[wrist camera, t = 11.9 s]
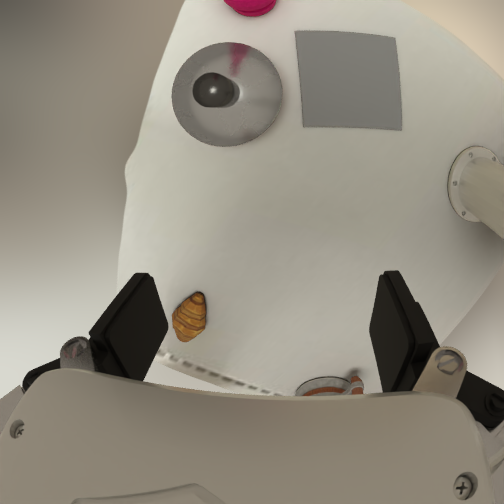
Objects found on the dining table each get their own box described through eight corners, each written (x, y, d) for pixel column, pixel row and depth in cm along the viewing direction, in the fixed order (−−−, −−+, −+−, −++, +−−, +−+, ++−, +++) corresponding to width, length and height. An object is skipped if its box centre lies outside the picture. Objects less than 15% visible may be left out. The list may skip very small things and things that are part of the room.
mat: (394, 38, 26) (395, 37, 26) (400, 130, 33) (401, 130, 32) (294, 31, 28) (294, 30, 28) (303, 126, 35) (303, 126, 35)
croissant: (183, 282, 50) (174, 299, 46) (218, 297, 51) (211, 315, 46) (169, 328, 56) (160, 345, 52) (198, 341, 57) (192, 359, 53)
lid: (277, 39, 26) (273, 21, 19) (286, 141, 32) (285, 149, 25) (171, 55, 28) (144, 45, 21) (181, 150, 34) (157, 161, 27)
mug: (284, 397, 63) (280, 449, 50) (334, 355, 54) (339, 417, 41) (328, 411, 65) (329, 459, 52) (380, 373, 56) (390, 428, 43)
